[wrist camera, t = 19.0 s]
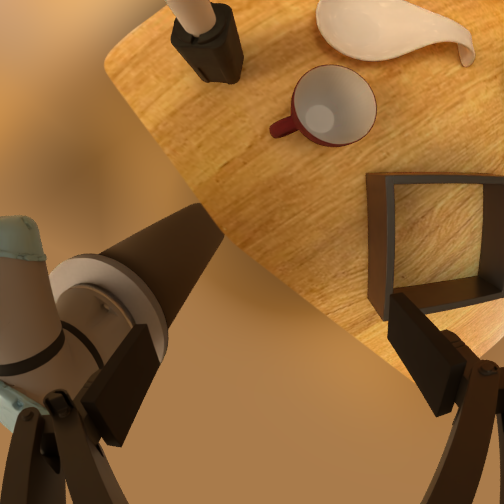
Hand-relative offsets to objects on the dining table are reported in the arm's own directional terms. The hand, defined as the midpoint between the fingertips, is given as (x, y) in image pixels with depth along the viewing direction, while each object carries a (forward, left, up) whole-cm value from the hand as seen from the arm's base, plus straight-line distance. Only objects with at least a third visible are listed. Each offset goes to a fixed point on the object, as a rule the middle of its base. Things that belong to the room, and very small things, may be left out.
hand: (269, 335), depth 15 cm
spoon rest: (+20, +26, -24) cm, 41 cm away
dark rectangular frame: (+23, -2, -24) cm, 34 cm away
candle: (-4, +22, -24) cm, 33 cm away
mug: (+6, +13, -24) cm, 28 cm away
